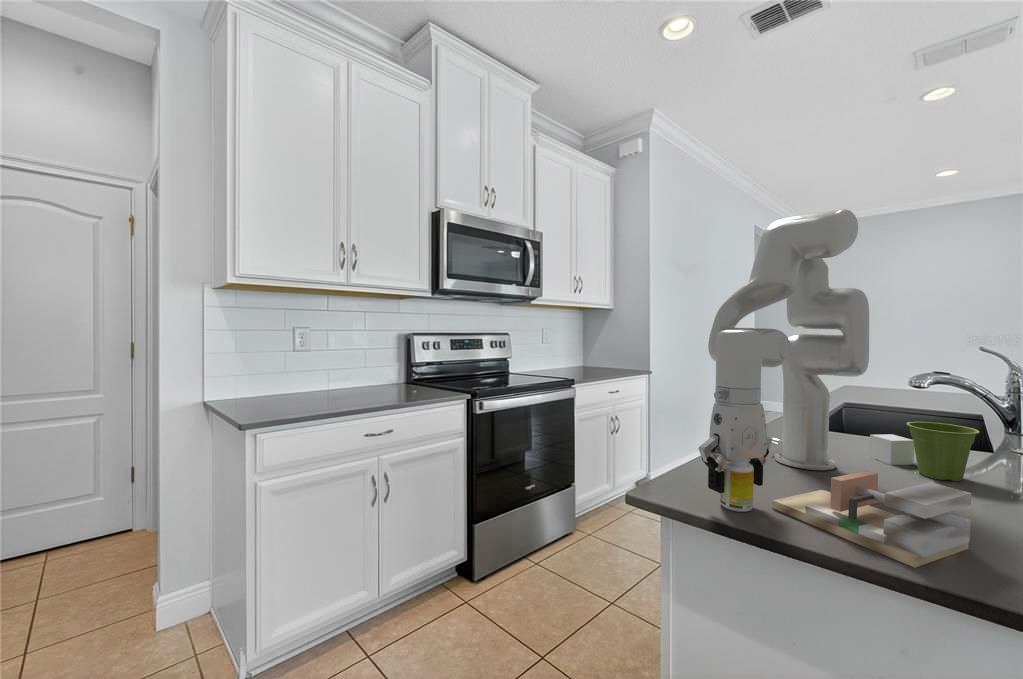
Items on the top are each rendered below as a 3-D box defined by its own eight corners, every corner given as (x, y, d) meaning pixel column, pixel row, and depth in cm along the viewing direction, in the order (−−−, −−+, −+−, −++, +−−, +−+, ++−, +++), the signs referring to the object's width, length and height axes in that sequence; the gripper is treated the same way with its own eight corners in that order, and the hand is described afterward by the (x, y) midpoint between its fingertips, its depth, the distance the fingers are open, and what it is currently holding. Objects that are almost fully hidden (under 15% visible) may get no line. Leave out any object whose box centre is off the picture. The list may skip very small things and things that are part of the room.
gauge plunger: (826, 509, 76) (827, 478, 76) (866, 499, 80) (867, 470, 80) (936, 551, 62) (938, 513, 62) (978, 536, 66) (980, 501, 66)
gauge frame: (772, 508, 84) (773, 460, 84) (821, 497, 89) (823, 452, 89) (919, 569, 63) (921, 506, 63) (972, 550, 68) (975, 492, 68)
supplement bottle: (759, 509, 83) (761, 455, 83) (739, 515, 81) (740, 459, 80) (733, 499, 88) (734, 447, 88) (713, 504, 86) (714, 451, 85)
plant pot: (974, 475, 102) (976, 426, 101) (980, 490, 93) (982, 436, 93) (904, 464, 110) (906, 418, 109) (904, 476, 101) (906, 427, 100)
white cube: (869, 457, 116) (870, 434, 115) (891, 457, 116) (892, 434, 116) (890, 465, 110) (891, 440, 109) (913, 464, 110) (914, 440, 110)
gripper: (719, 402, 77) (717, 501, 77) (788, 396, 83) (786, 487, 84) (686, 395, 84) (684, 486, 84) (753, 390, 90) (751, 474, 91)
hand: (735, 486), depth 84 cm, fingers open, 9 cm apart
